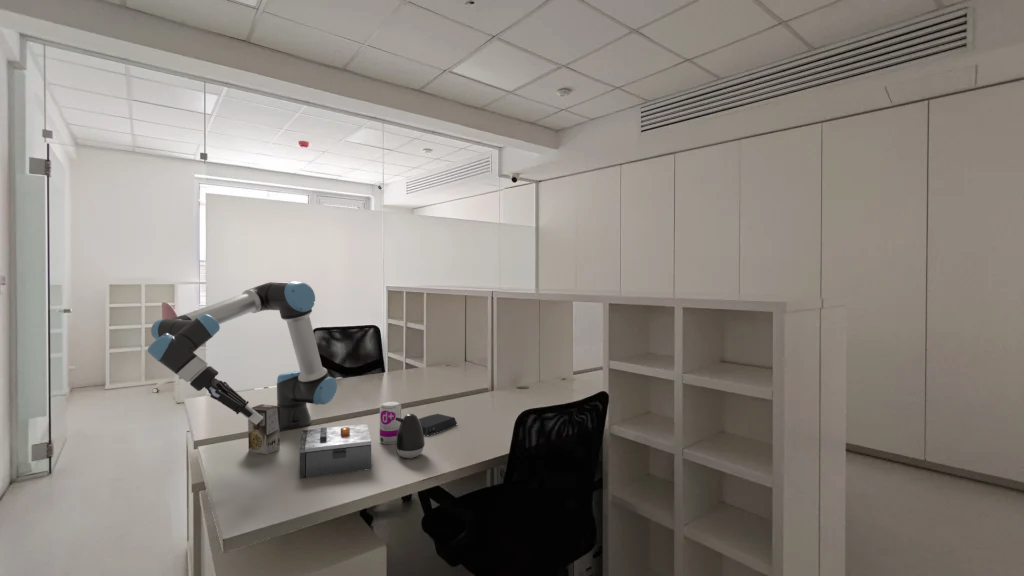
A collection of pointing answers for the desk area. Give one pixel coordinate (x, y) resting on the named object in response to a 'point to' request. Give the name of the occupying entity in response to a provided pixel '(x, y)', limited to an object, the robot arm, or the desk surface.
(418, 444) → the pump dispenser
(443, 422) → the external hard drive
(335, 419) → the desk surface
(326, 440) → the lid
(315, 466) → the grey storage box
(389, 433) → the supplement can
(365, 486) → the desk surface
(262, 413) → the coffee box
